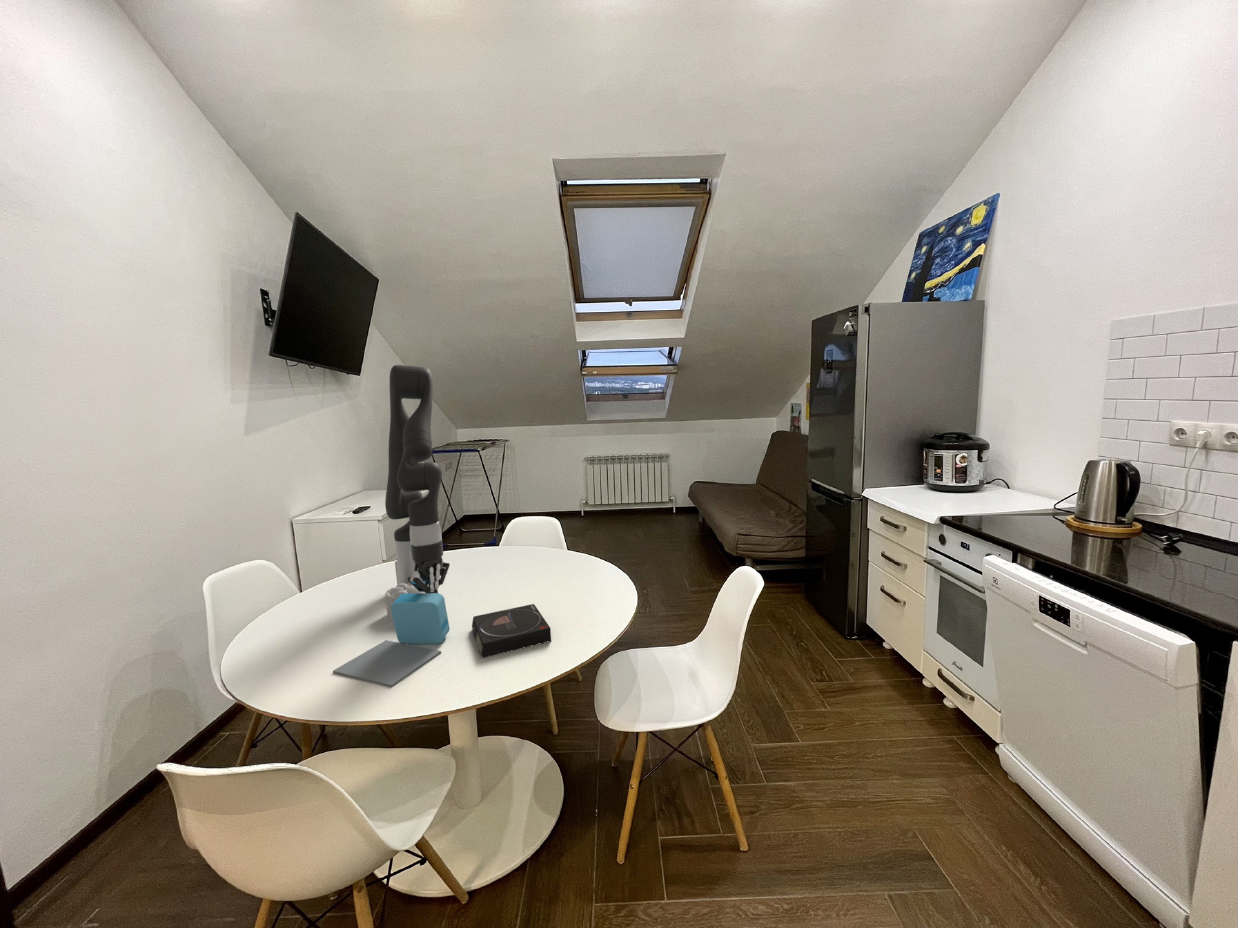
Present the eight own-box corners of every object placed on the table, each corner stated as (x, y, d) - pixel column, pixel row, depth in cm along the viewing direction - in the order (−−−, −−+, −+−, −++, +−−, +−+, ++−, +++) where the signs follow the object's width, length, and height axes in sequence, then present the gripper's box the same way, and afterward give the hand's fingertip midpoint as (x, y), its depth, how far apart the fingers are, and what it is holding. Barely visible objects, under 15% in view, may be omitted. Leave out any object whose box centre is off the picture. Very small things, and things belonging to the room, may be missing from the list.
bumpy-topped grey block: (422, 622, 137) (419, 593, 136) (378, 622, 139) (375, 592, 138) (440, 606, 147) (437, 579, 146) (399, 606, 149) (396, 578, 148)
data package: (450, 633, 128) (443, 592, 125) (443, 644, 124) (436, 602, 121) (406, 633, 129) (398, 593, 126) (398, 644, 125) (389, 603, 122)
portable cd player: (472, 631, 131) (470, 617, 131) (534, 617, 138) (533, 603, 138) (481, 660, 117) (480, 644, 116) (551, 642, 123) (550, 627, 123)
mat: (333, 672, 113) (332, 670, 113) (386, 641, 127) (386, 640, 126) (391, 687, 106) (391, 685, 106) (441, 653, 120) (441, 651, 120)
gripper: (433, 532, 134) (439, 593, 136) (395, 546, 122) (402, 613, 124) (455, 533, 131) (461, 596, 133) (418, 548, 119) (425, 616, 121)
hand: (432, 604), depth 129 cm, fingers closed
